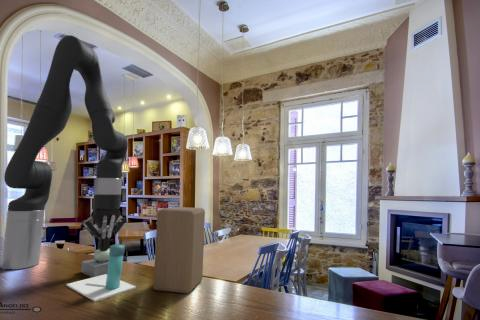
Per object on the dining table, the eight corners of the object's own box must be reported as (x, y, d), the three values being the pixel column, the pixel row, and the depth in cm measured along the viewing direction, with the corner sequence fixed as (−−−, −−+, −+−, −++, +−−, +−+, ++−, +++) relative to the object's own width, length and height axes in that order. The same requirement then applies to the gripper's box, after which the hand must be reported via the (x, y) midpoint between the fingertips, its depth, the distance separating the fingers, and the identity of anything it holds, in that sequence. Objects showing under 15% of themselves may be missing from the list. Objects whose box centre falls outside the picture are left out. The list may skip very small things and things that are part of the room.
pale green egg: (90, 270, 76) (91, 250, 77) (105, 266, 80) (106, 248, 81) (97, 273, 74) (99, 253, 74) (112, 269, 77) (113, 250, 78)
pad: (66, 285, 65) (66, 283, 65) (105, 275, 73) (105, 273, 73) (94, 301, 57) (95, 299, 57) (135, 288, 65) (135, 286, 65)
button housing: (80, 272, 76) (81, 261, 76) (107, 265, 82) (108, 256, 83) (93, 277, 71) (94, 266, 72) (121, 270, 78) (122, 260, 78)
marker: (102, 286, 63) (107, 245, 64) (115, 283, 66) (120, 243, 67) (109, 291, 61) (114, 248, 62) (122, 287, 64) (127, 246, 65)
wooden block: (170, 277, 73) (173, 206, 75) (203, 280, 71) (206, 207, 73) (151, 291, 63) (156, 209, 66) (189, 295, 61) (192, 210, 63)
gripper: (121, 192, 87) (117, 245, 85) (79, 192, 76) (73, 252, 74) (134, 193, 83) (130, 248, 81) (91, 193, 72) (85, 257, 70)
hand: (103, 250), depth 77 cm, fingers closed
